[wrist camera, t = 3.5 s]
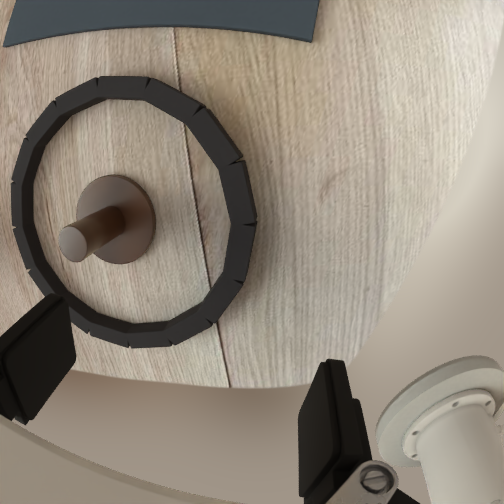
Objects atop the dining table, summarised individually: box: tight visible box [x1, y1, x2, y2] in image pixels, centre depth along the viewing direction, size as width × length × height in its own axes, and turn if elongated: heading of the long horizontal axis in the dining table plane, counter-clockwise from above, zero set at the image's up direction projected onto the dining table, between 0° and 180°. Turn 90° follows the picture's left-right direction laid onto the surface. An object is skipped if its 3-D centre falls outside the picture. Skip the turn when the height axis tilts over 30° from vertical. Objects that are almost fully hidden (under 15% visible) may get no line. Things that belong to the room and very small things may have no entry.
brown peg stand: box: [59, 175, 156, 264], centre depth 21 cm, size 7×7×6 cm
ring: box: [11, 76, 257, 348], centre depth 23 cm, size 22×22×2 cm
